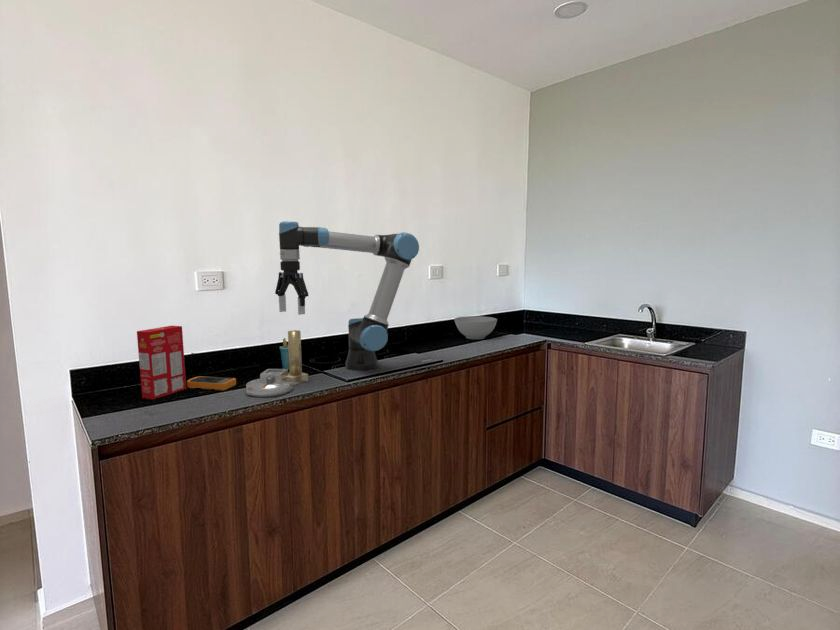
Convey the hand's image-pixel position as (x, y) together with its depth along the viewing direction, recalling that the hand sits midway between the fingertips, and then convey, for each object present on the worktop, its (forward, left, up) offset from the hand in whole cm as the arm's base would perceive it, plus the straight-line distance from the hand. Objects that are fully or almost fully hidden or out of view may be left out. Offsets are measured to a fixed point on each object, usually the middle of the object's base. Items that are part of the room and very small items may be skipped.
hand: (292, 313), depth 187 cm
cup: (-10, -19, -29) cm, 36 cm away
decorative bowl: (-134, -2, -29) cm, 137 cm away
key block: (0, 0, -29) cm, 29 cm away
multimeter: (+26, -19, -29) cm, 44 cm away
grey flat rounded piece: (+14, +5, -29) cm, 32 cm away
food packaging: (+42, -23, -29) cm, 56 cm away
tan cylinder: (-1, 0, -26) cm, 26 cm away
